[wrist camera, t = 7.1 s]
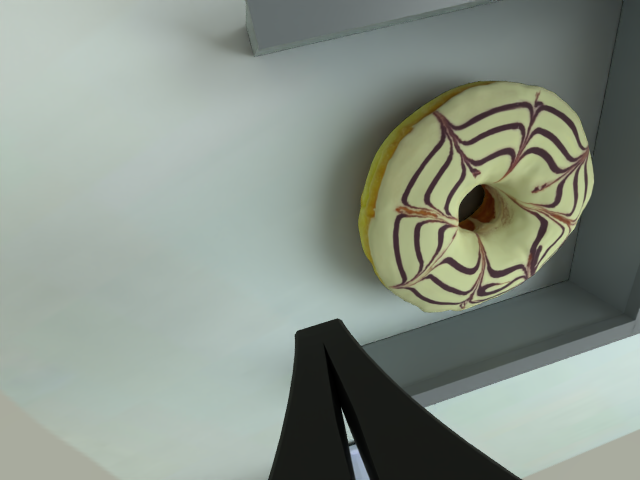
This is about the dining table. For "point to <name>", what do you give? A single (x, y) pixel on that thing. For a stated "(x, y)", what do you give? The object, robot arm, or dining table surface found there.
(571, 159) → the decorated donut
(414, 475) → the robot arm
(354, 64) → the dining table surface
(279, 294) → the dining table surface
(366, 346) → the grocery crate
